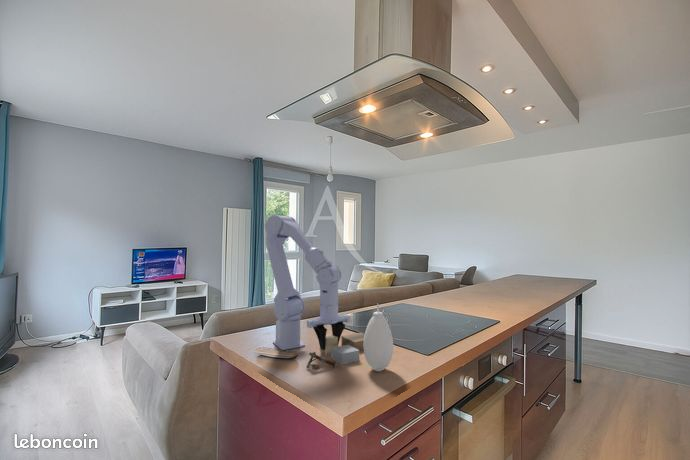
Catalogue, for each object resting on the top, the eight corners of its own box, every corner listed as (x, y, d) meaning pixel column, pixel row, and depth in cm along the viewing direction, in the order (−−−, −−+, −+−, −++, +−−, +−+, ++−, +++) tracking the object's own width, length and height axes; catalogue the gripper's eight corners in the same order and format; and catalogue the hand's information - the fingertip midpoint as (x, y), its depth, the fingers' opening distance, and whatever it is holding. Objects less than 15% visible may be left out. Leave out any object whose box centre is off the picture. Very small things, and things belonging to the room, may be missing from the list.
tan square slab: (341, 345, 106) (341, 336, 106) (360, 341, 110) (360, 332, 110) (354, 351, 99) (354, 342, 99) (374, 347, 103) (374, 338, 103)
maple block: (320, 351, 99) (320, 335, 99) (331, 349, 101) (331, 333, 101) (326, 355, 96) (326, 338, 96) (337, 353, 98) (337, 336, 98)
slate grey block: (331, 358, 93) (331, 348, 93) (348, 354, 96) (348, 344, 97) (341, 364, 88) (341, 354, 88) (359, 360, 91) (359, 350, 91)
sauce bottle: (378, 362, 90) (377, 299, 91) (399, 370, 84) (398, 303, 85) (358, 369, 85) (357, 302, 86) (378, 378, 79) (378, 306, 80)
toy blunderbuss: (303, 364, 86) (310, 349, 87) (329, 375, 87) (336, 359, 88) (303, 367, 84) (310, 351, 85) (330, 378, 85) (337, 362, 86)
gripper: (314, 308, 92) (313, 355, 91) (355, 303, 100) (355, 347, 99) (304, 304, 98) (303, 349, 97) (343, 300, 106) (343, 341, 105)
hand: (329, 347), depth 99 cm, fingers closed on maple block, 4 cm apart
